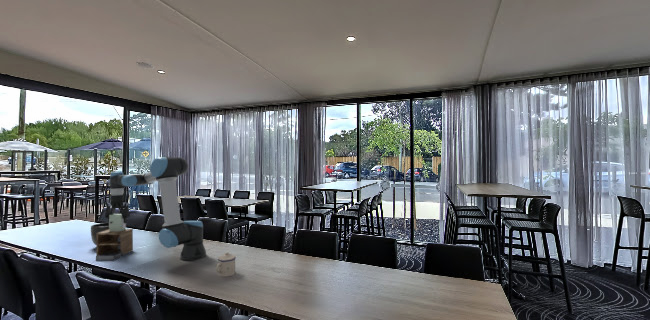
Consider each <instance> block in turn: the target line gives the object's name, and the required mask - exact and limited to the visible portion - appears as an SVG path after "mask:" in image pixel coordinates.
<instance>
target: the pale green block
mask: <svg viewBox="0 0 650 320" xmlns="http://www.w3.org/2000/svg"><path fill="white" fill-rule="evenodd" d="M122 218H123V217H122V214H121V213H113V214H112V215H109V228H110V231H124V230H125V229H126V228H123V229H122Z"/></svg>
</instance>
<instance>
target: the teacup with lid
mask: <svg viewBox="0 0 650 320" xmlns="http://www.w3.org/2000/svg"><path fill="white" fill-rule="evenodd" d="M217 260H218V264H217V265H216V267H215V271H216V272H217V274H218V276H219V277H223V278H228V277H231V276H233V275H235V274H236V255H234V254H231V253H230V252H229V251H227V252H224V254H222V255H220V256H219V257H218V259H217Z"/></svg>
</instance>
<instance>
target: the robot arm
mask: <svg viewBox="0 0 650 320" xmlns="http://www.w3.org/2000/svg"><path fill="white" fill-rule="evenodd" d="M149 169H150V171H149V172H145V173H137V174H124V172H123V171H112V172H110V173H109V175H110V177H109V185H110V189H109V193H110V195H109V197H110V199H109V200H110V202H107V203H105V205H106V206H105V207H106V208H105V213H104V218H105V219H107V222H108V223H109V215H112V214H115V211H116V210H119V212H120V214H122V217H123V218H122V229H123V228H125V229H127V222H128V218H130V217H131V215H130V210H129V202H124V200H125V195H124V194H125V190H124V189H125V188H124V187H134V186H143V185H147V186H148V185H152V184H154V183H156V182H158V183H159V190H160V196H161V197H160V198H161V204H162V211H163V220H164V223H163V224H162V229H161V230H160V231H159V233H158V239H159V242H160V244H161V245H162V246H163V247H164V248H167V249H169V248H176V247H177V246H180V245H182V249H181V252H180V257H179V259H180V260H182V261H195V260H201V259H203V258H205V257H206V256H207V250H206V248H205V247H206V246H205V245H204V224H203V221H201V220H184V221H183V220H182V219H181V213H180V212H181V211H180V207H179V197H178V189H177V184H176V181H177V179H178V178H179V177H178V176H182V175H184V174H186V173H187V171H188V170H189V163H188V161H187V160H186V159H185V158H183V157H179V156H176V157H175V156H174V157H172V156H162V157H156V158H155V159H153V160H152V162H151V163H150V168H149ZM109 229H110V228H109Z"/></svg>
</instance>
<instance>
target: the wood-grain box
mask: <svg viewBox="0 0 650 320" xmlns="http://www.w3.org/2000/svg"><path fill="white" fill-rule="evenodd" d="M133 235H134V234H133V228H125V230H124V231H110V229H108V230H105V231H102V232H99V233H96V245H95V246H96V256H98V255H100V254H102V253H105V252H123V256H124V255H126V254H128V253H131V252H133V250H134V243H133V242H134V241H133V240H134V239H133V238H134V237H133ZM118 237H121V243H118ZM118 245H121V251H118Z"/></svg>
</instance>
